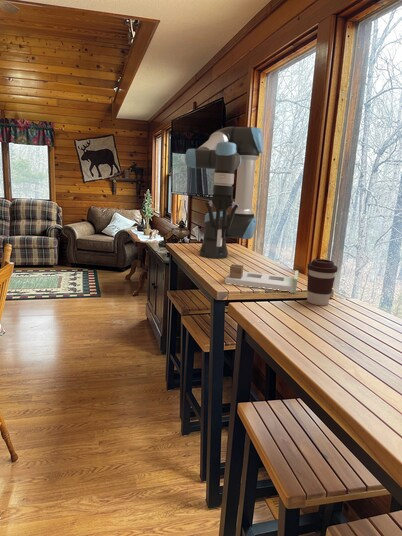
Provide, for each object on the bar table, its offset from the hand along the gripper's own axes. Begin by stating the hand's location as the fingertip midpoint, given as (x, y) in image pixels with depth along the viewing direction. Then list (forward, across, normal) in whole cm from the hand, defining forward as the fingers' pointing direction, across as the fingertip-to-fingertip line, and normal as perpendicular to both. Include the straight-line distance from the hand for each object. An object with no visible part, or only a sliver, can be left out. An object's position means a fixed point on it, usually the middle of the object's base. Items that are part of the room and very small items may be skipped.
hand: (219, 245), depth 152 cm
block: (+12, +8, +1) cm, 14 cm away
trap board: (+14, +17, +4) cm, 23 cm away
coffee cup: (+15, +39, -11) cm, 43 cm away
